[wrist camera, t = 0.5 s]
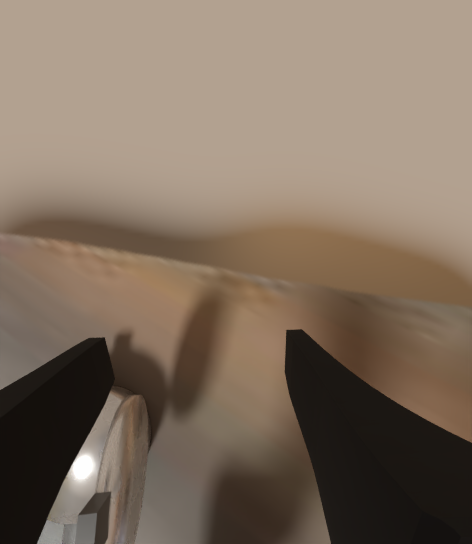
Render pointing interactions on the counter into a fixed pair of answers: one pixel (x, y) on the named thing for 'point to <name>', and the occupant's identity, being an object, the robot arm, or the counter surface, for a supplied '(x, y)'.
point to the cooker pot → (86, 469)
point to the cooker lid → (118, 479)
